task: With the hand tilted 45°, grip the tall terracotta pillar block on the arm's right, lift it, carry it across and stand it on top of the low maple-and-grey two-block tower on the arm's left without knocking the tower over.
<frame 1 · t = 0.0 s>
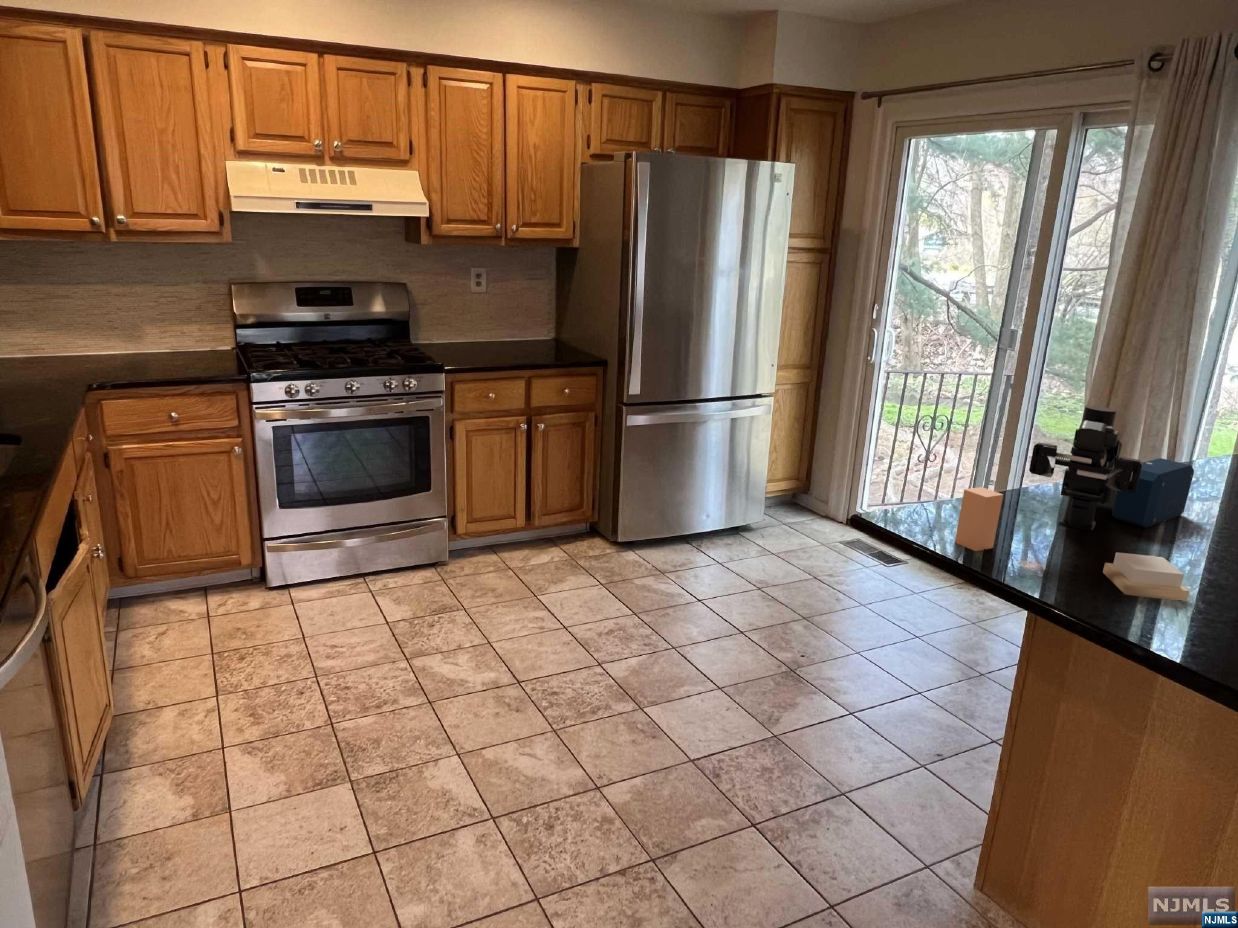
hand: (1078, 475, 158), 17 cm above the countertop, tool horizontal, fingers open, 9 cm apart
tower top: (1145, 575, 151), point 2 cm above the countertop
navy rounded box: (1145, 518, 191), on the countertop
tower base: (1142, 589, 151), on the countertop
pillar block: (973, 545, 166), on the countertop
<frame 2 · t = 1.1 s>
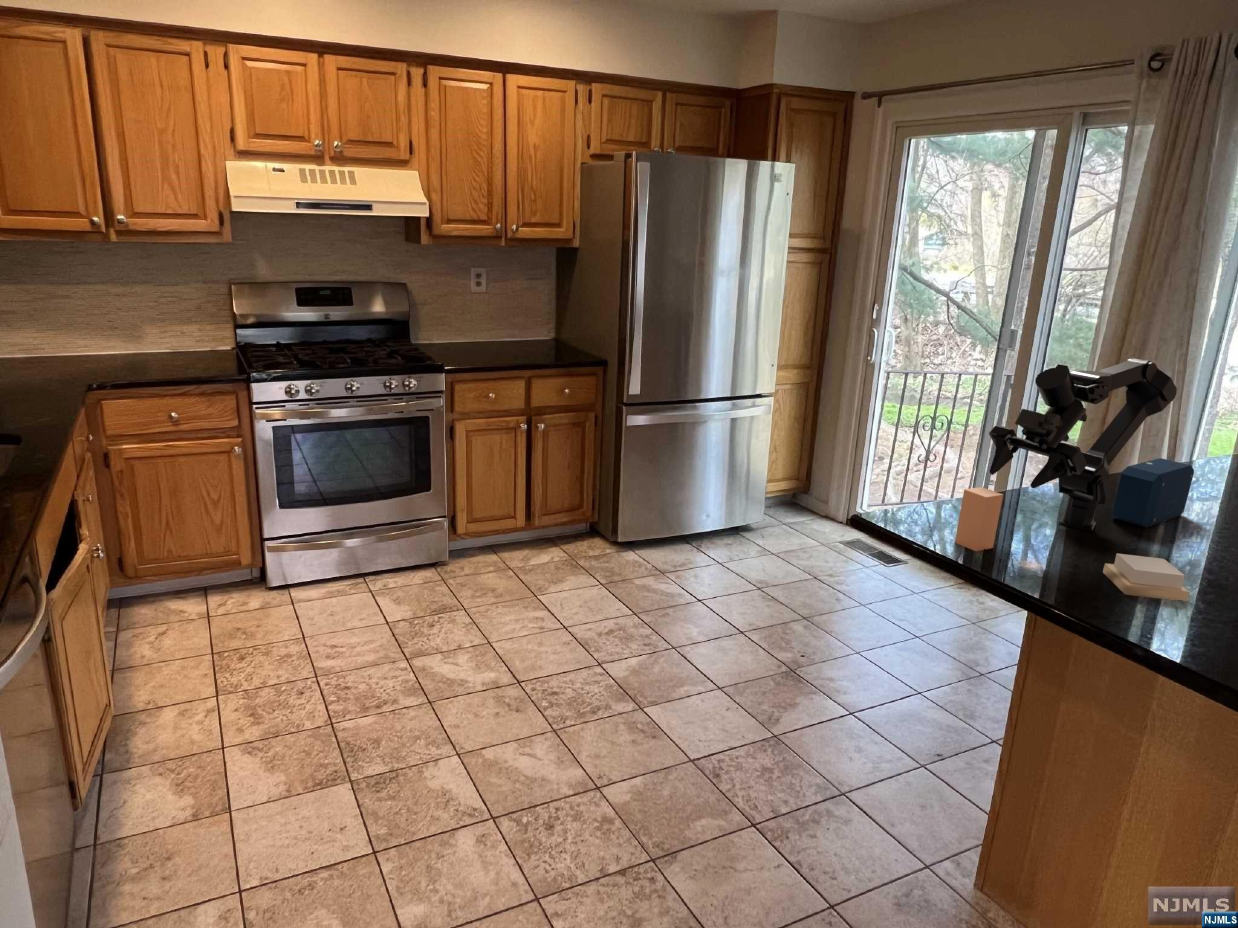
hand: (1010, 480, 166), 13 cm above the countertop, tool tilted 45°, fingers open, 9 cm apart
tower top: (1146, 577, 151), point 2 cm above the countertop, touching tower base
tower base: (1142, 589, 151), on the countertop, touching tower top
everything else where it was.
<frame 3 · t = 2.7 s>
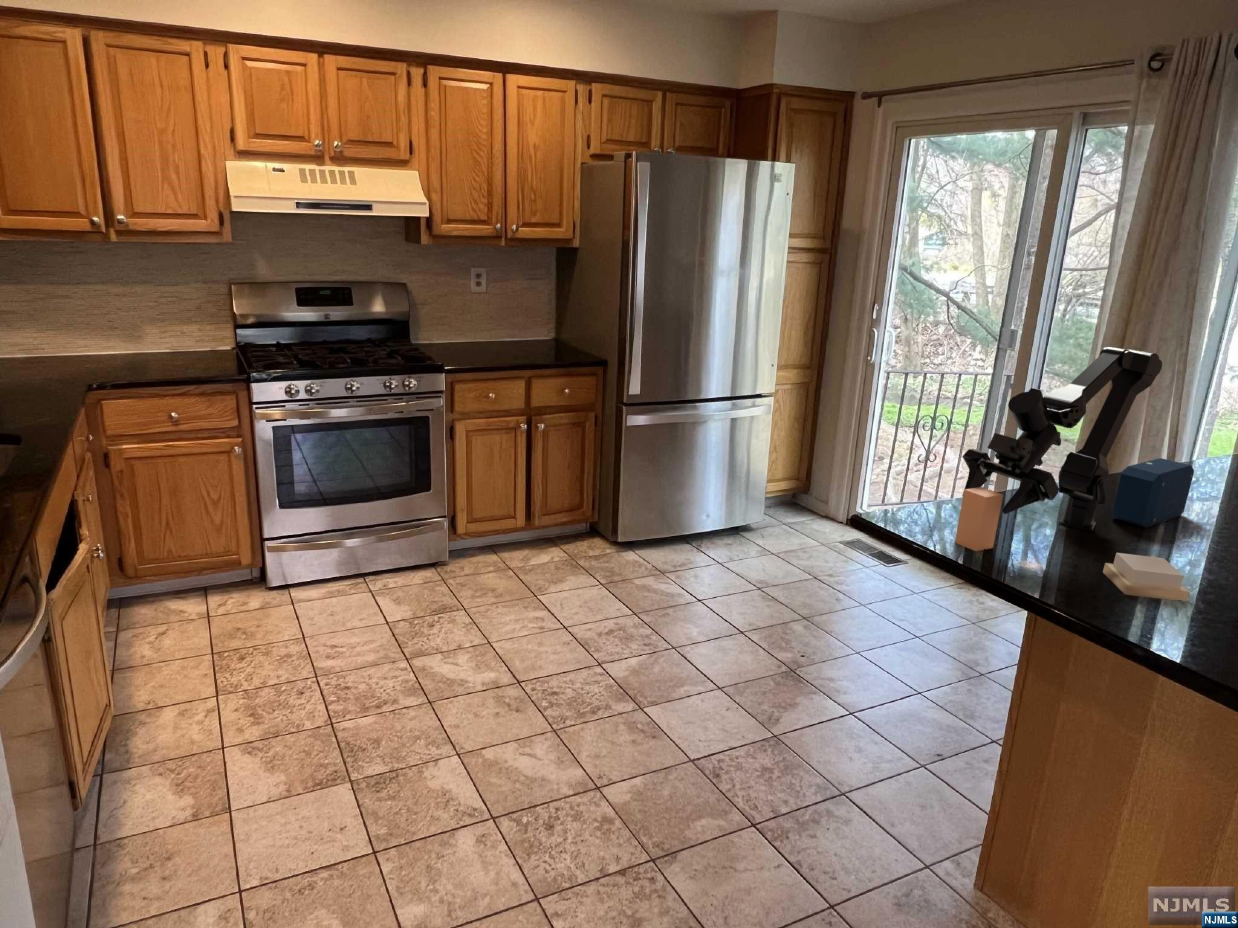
hand: (983, 505, 164), 8 cm above the countertop, tool tilted 45°, fingers open, 9 cm apart
tower top: (1145, 576, 151), point 2 cm above the countertop
tower base: (1142, 589, 151), on the countertop
everything else where it was.
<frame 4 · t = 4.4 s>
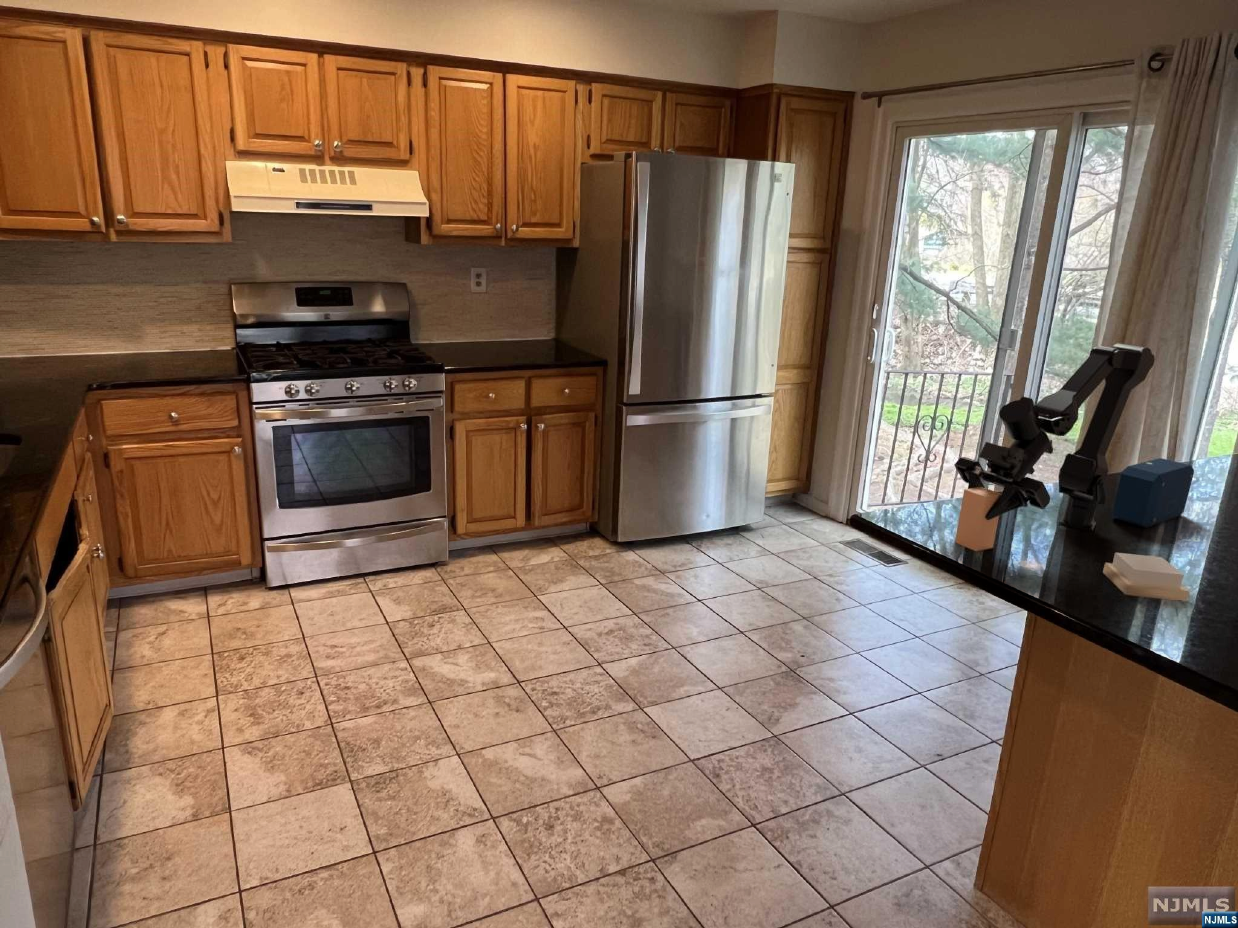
hand: (974, 514, 164), 7 cm above the countertop, tool tilted 45°, fingers closed on pillar block, 5 cm apart
tower top: (1145, 576, 151), point 2 cm above the countertop, touching tower base
tower base: (1142, 589, 151), on the countertop, touching tower top
pillar block: (973, 544, 166), on the countertop, touching gripper
everything else where it was.
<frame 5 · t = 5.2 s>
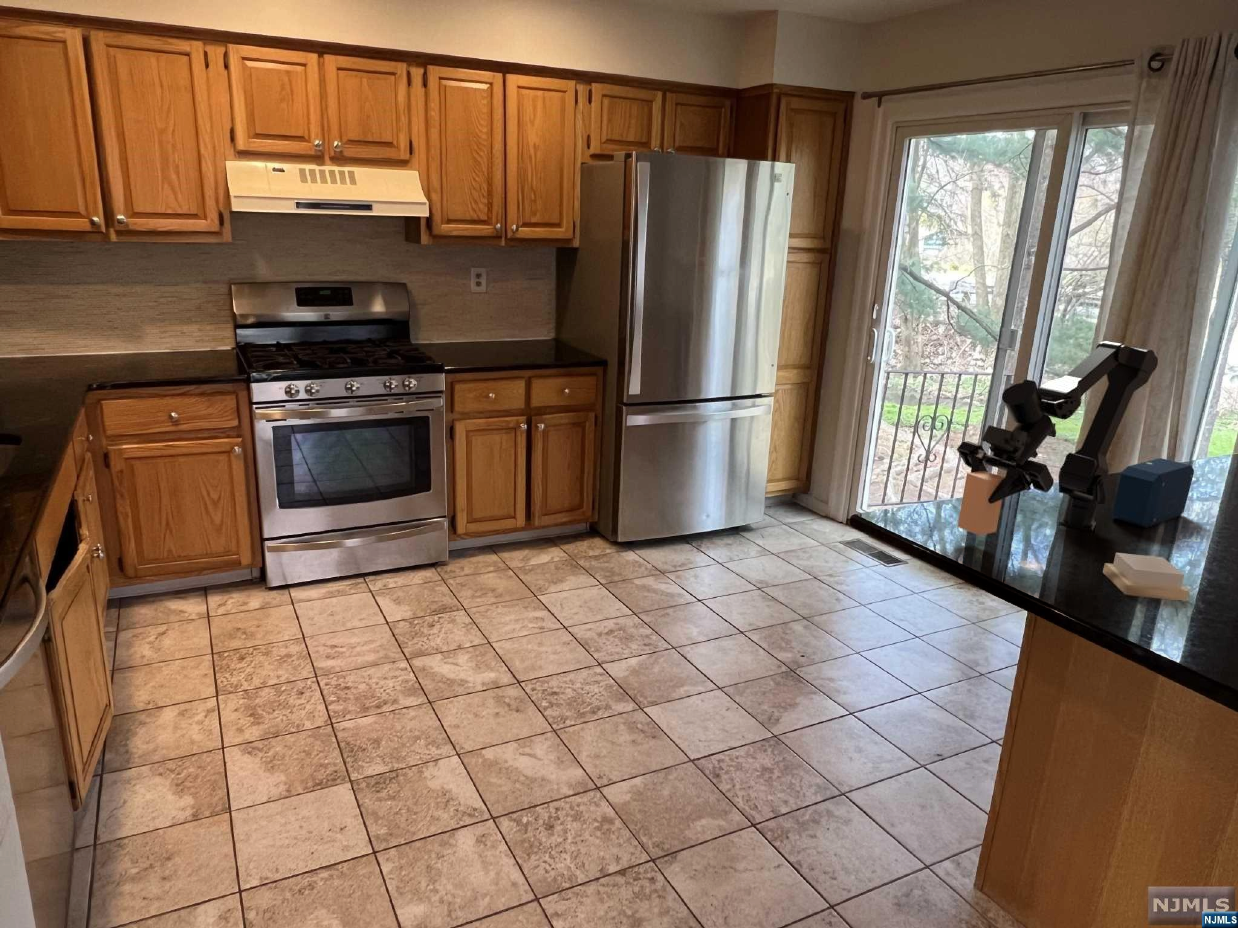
hand: (977, 497, 163), 10 cm above the countertop, tool tilted 45°, fingers closed on pillar block, 5 cm apart
pillar block: (976, 529, 165), point 3 cm above the countertop, touching gripper
everything else where it was.
when the fingers open (12 cm above the countertop, at t = 9.7 s): pillar block drops 1 cm, point 5 cm above the countertop.
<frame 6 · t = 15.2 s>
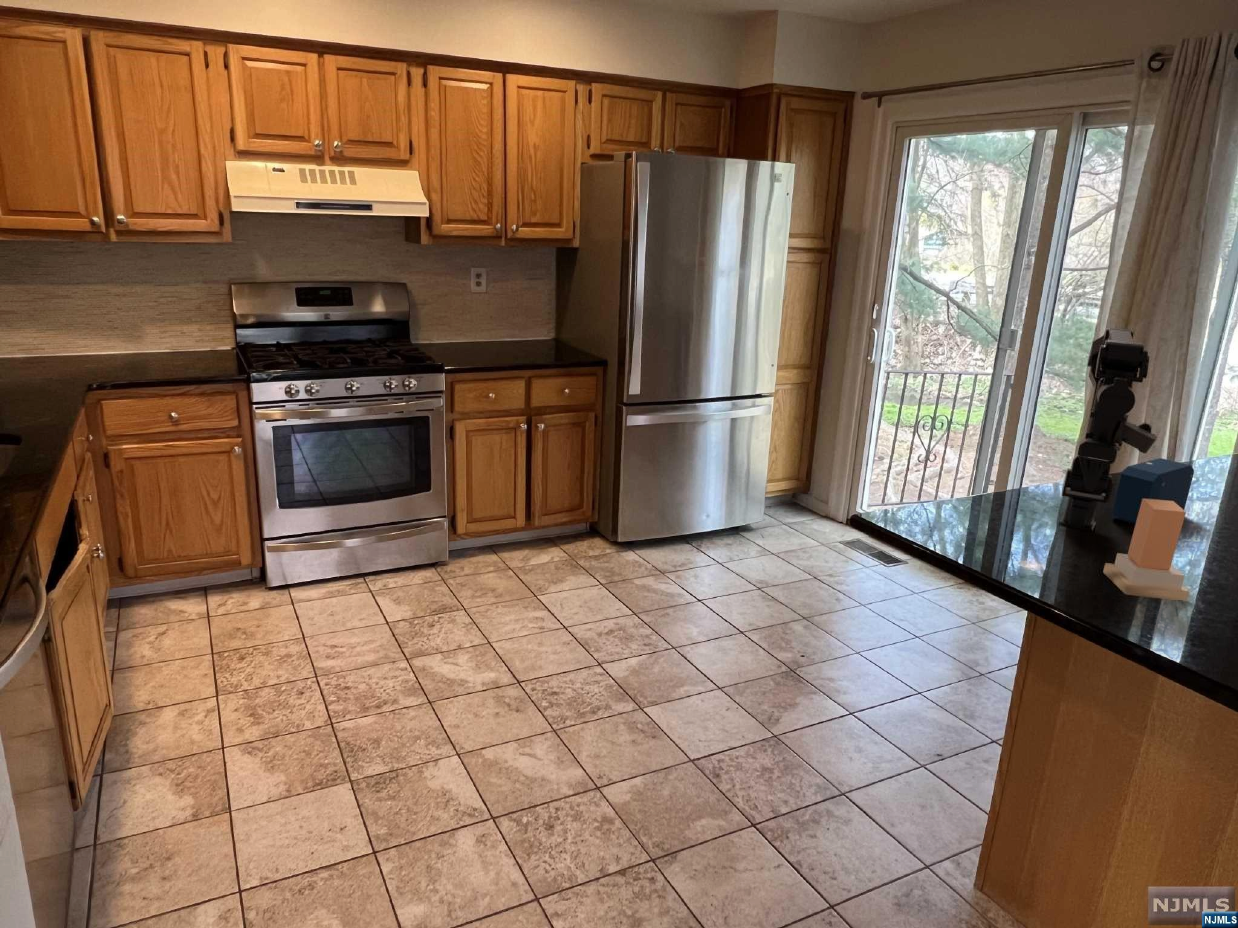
hand: (1092, 485, 165), 13 cm above the countertop, tool pointing down, fingers open, 9 cm apart
pillar block: (1148, 562, 150), point 5 cm above the countertop
everything else where it was.
at the end: pillar block 0.4 cm off-centre on the tower top, point 2.7 cm above the tower top's base; pillar block tilted 4°; tower top 0.1 cm off-centre on the tower base, point 2.5 cm above the tower base's base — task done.
